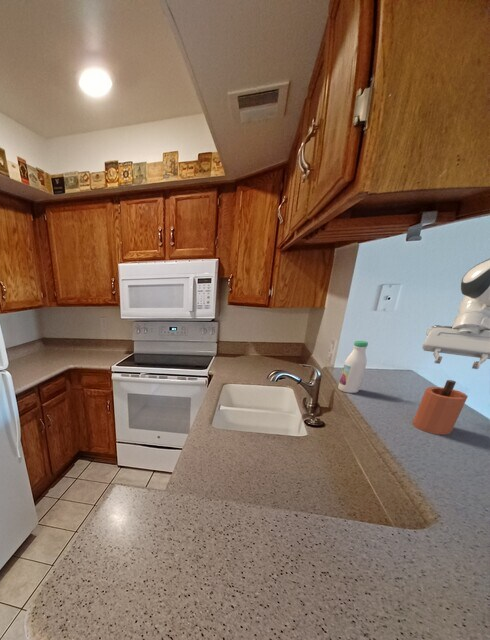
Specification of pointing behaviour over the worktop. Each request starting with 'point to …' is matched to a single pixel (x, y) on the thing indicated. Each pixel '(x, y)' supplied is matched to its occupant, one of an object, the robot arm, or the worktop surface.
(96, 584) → the worktop surface
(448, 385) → the brush
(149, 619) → the worktop surface
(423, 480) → the worktop surface
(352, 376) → the milk bottle
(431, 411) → the jar
